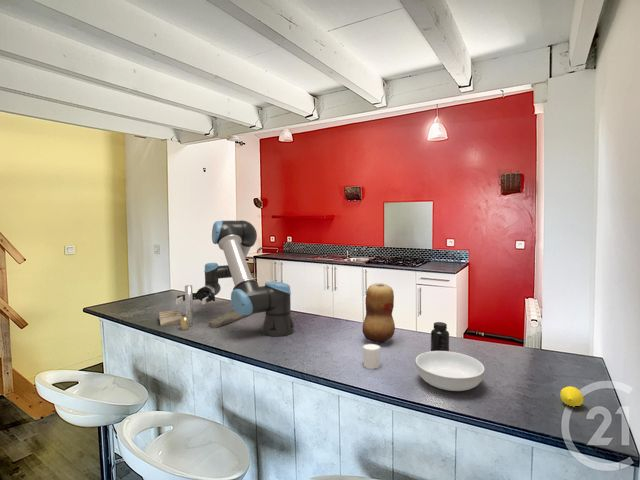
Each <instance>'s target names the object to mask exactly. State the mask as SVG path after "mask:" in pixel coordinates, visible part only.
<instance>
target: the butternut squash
mask: <svg viewBox="0 0 640 480" xmlns="http://www.w3.org/2000/svg"><path fill="white" fill-rule="evenodd" d="M365 293H366V294H365V300H364V301H365V302H364V303H365V312H366V313H365V317H364V320H363V323H362V335H363V336H364V338H365V339H366V340H367V341H369V342H372V343H377V344H383V343H386V342H387V341H389V340H390V339H391V338H393V336H394V334H395V330H396V327H395V326H396V325H395V320H394V318H393V311H394V304H395V301H394V299H395V295H394V290H393V288H392V287H391V286H390V285H388V284H385V283H383V282H381V283H379V282H378V283H371V284H370V285H369V286H368V288H367V290H366V292H365Z"/></svg>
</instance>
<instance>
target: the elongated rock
mask: <svg viewBox="0 0 640 480" xmlns="http://www.w3.org/2000/svg"><path fill="white" fill-rule="evenodd" d="M251 315H252V314H250V315H239V314H237V313H236V312H235V310H234V308H233V309H231V310H230V312H228V313H225V314H223V315H222V314H221V316H218V317H215V318H213V319H210V321H209V322H208V325H209V327H210V328H213V329H215V328H216V329H217V328H219V327H222V326H225V325H228V324H233V322H237V321H239V320H241V319H243V318H247V317H248V316H251Z"/></svg>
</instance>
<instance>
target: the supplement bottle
mask: <svg viewBox="0 0 640 480" xmlns="http://www.w3.org/2000/svg"><path fill="white" fill-rule="evenodd" d="M447 326H448V324H447V323H446V322H442V321H441V322H440V321H435V322H433V329H432V330H431V331H430V351H450V333H449V331H448V330H447V329H448V327H447Z"/></svg>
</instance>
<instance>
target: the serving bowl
mask: <svg viewBox="0 0 640 480" xmlns="http://www.w3.org/2000/svg"><path fill="white" fill-rule="evenodd" d="M414 362H415V368H416V370H417V373H418V375H419V377H421V378H422V380H423V381H425V382H426V383H427V384H429V385H431V386H432V387H435V388H437V389H441V390H445V391H451V392H463V391H469V390H471V389H473V388H475V387H477V386H478V385H480V384H481V382H482V380H483V378H484V375H485V371H486V370H485V366H484V364H483V363H482V362H481V361H479V360H478V359H477V358H475V357H472V356H470V355H466V354H465V353H459V352H455V351H450V350H449V351H431V350H430V351H425V352H422V353H420V354H418V355H417V356H416V358H415V361H414Z"/></svg>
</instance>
